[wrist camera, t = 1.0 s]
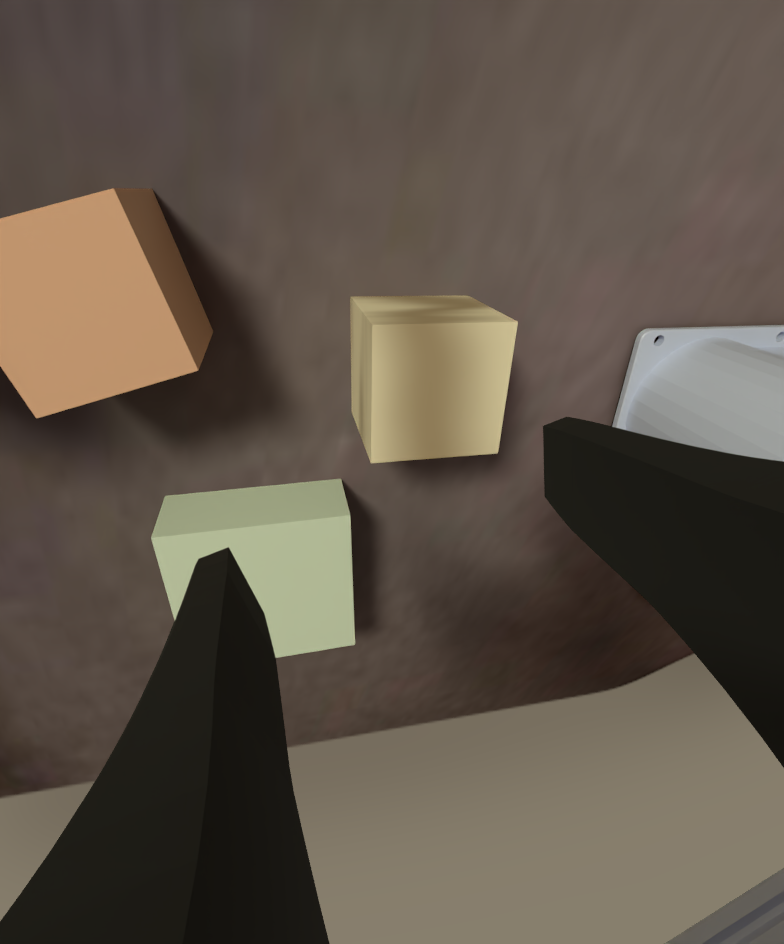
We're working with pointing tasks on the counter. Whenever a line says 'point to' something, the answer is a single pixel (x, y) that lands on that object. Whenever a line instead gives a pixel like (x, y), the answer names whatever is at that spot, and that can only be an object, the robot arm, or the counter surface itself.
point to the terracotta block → (95, 301)
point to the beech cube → (429, 375)
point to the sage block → (270, 555)
